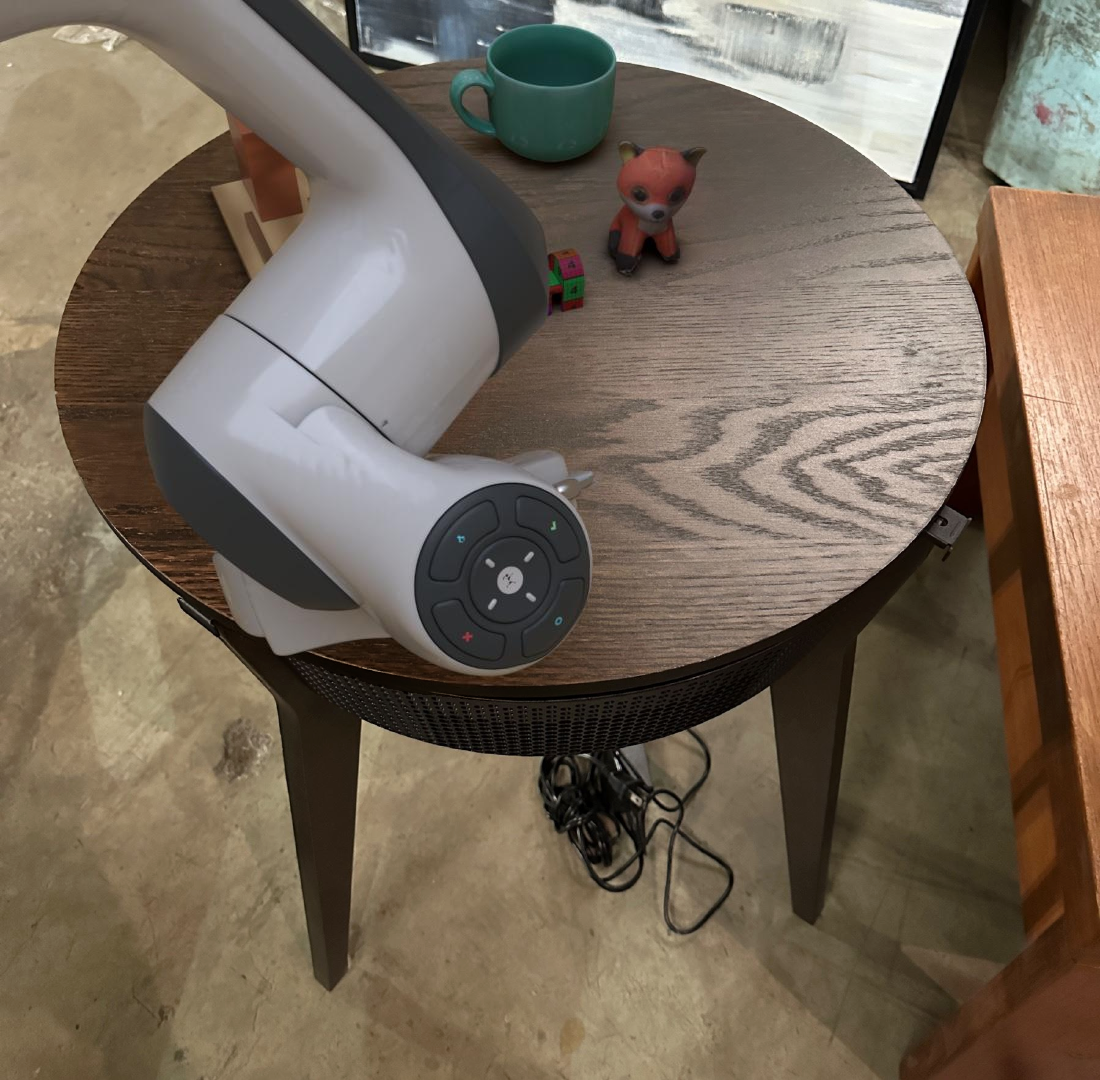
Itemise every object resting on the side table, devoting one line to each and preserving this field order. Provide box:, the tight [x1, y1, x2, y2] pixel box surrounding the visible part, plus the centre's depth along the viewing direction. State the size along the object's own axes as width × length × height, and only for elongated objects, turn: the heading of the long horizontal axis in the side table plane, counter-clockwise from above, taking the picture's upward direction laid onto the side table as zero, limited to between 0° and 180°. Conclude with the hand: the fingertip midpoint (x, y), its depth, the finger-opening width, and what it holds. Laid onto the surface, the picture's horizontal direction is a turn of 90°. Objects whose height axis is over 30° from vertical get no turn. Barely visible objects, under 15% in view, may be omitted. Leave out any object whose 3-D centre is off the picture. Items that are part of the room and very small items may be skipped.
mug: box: [448, 23, 617, 163], centre depth 103 cm, size 17×13×10 cm
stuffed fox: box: [607, 140, 709, 277], centre depth 92 cm, size 8×11×12 cm
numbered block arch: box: [547, 247, 586, 316], centre depth 90 cm, size 8×5×4 cm
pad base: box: [210, 109, 310, 282], centre depth 93 cm, size 10×18×10 cm, turn 25°
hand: (379, 521), depth 65 cm, fingers open, 8 cm apart
